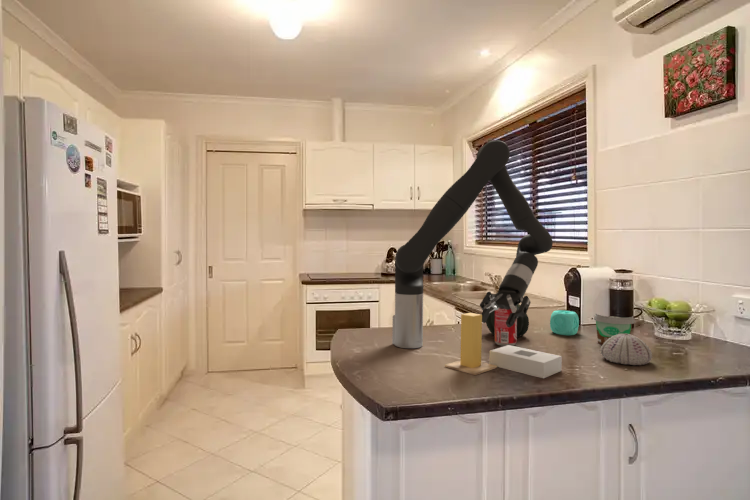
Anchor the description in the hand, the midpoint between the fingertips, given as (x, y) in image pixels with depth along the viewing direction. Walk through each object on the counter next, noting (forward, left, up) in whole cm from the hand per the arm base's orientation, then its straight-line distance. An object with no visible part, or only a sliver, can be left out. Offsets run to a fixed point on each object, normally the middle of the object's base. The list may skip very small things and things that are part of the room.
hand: (494, 323), depth 131 cm
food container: (+17, +45, -11) cm, 50 cm away
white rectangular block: (+10, -1, -11) cm, 15 cm away
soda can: (-8, +19, -11) cm, 24 cm away
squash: (-15, +31, -11) cm, 37 cm away
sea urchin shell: (+26, +28, -11) cm, 40 cm away
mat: (0, -12, -11) cm, 16 cm away
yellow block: (0, -12, -10) cm, 15 cm away
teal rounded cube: (-3, +52, -11) cm, 54 cm away
